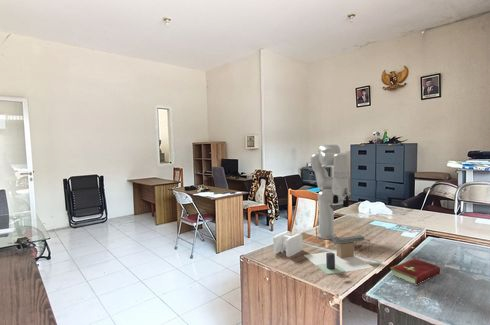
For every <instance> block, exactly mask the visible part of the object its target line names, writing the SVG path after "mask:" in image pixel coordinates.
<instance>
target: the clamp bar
mask: <svg viewBox="0 0 490 325" xmlns="http://www.w3.org/2000/svg"><path fill="white" fill-rule="evenodd" d="M331 240H332V241H331V242H332V243H333V244H335V245H337V244H341V243H349V242H353V243H354V242H363V241H365V236H363V235H352V236H351V235H350V236H346V237H343V236H342V237H336V238H335V239H331Z"/></svg>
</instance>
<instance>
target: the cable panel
mask: <svg viewBox="0 0 490 325" xmlns="http://www.w3.org/2000/svg"><path fill="white" fill-rule="evenodd" d="M354 246H355V243H354V242H349V243H341V244H336V250H332V251H325V252H319V253H311V254H304V255H303V256H304V257H305V258H306V259H308V260H309V261H310V262H311V263H312V264H314V266H315V267H317V268H319V269H320V270H321V271H322V272H323V273H325V275H328V276H330V275H334V274H335V275H336V274H341V273H346V272H353V271H360V270H364V269H371V268H373V265H371V264H369V263H368V262H366V261H364V260H362V259H360V258H359V257H357V256H356V255H354V254H355V248H354ZM329 252H331V253H334V254H335V269H333V270H330V269H327V262H326V253H329Z"/></svg>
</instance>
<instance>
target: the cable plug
mask: <svg viewBox="0 0 490 325" xmlns="http://www.w3.org/2000/svg"><path fill="white" fill-rule="evenodd" d="M328 252H329V253H326V262H327V269H330V270H333V269H335V254H334V253H331V251H328Z"/></svg>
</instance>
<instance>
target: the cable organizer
mask: <svg viewBox="0 0 490 325" xmlns="http://www.w3.org/2000/svg"><path fill="white" fill-rule="evenodd" d="M272 241H273V254H275V255H276V254H280V253H281V254H283V252H285V256H286V257H288V258H290V257H292V256H294V255H296V254H298V253H300V252H302V251H303V250H304V249H303V245H304V244H303V234H302V233H297V234H294V235H292V231H289V230H285V231H283V232H280V233H277V234H276V235H274V237H273V240H272Z"/></svg>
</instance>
